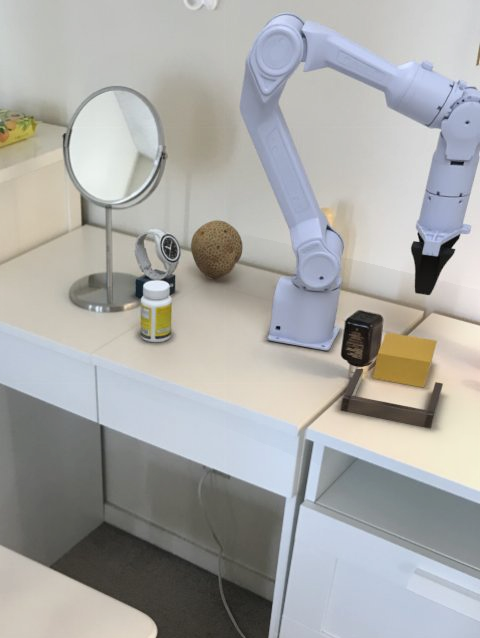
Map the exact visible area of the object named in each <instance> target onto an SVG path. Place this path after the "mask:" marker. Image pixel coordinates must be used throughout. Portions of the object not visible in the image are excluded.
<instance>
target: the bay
mask: <svg viewBox="0 0 480 638" xmlns="http://www.w3.org/2000/svg"><path fill="white" fill-rule="evenodd" d="M363 375H364V368H361V369H356V368H355V369H354V372H353V374H352V377H351V379H350V381H349V383H348V386H347V387H346V390H345V392H344V394H343V396H342V399H341V406H340V411H342V412H343V411H344V412H348V413H352V414H359V415H363V416H367V417H373V418H378V419H382V420H388V421H393V422H398V423H403V424H407V425H413V426H416V427H417V426H418V427H423V428H427V429H431V428H432V425H433V422H434V418H435V414H436V412H437V411H436V410H437V407H438V403H439V400H440V397H441V393H442V389H443V386H444V383H443V382H437V381H436V382H434V385H433V389H432V392H431V396H430V398H429V402H428V406H427V408H426V409H423V408H417V407H413V406H407V405H402V404H397V403H392V402H387V401H383V400H377V399H371V398H367V397H361V396H356V394H357V392H358V389H359V387H360V385H361V383H362V380H363Z"/></svg>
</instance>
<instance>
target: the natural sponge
mask: <svg viewBox="0 0 480 638" xmlns="http://www.w3.org/2000/svg"><path fill="white" fill-rule="evenodd" d="M242 240H243V239H242V237H241V235H240V233H239V232H238V230H237V229H236V228H235V227H234V226H232V225H231V224H230V223H228V222H226V221H223V220H220V219H219V220H218V219H215V220H211V221H208V222H206V223H204V224H203V225H202V226H200V227H199V228H197V230H196V231H195V232H194V233H193V235H192V238H191V243H190V250H191V254H192V258H193V260H194V264H195V265H196V267H197V269H198V270H199V271H200V273H202V275H204V276H205V277H206V278H208V279H211V280H219V279H221V278H222V277H224V276H228V274H230V273H231V272H232V271H233V270H234V268H235V266H236V264H237V263H238V262H240V259H241V257H242V254H243V241H242Z"/></svg>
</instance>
